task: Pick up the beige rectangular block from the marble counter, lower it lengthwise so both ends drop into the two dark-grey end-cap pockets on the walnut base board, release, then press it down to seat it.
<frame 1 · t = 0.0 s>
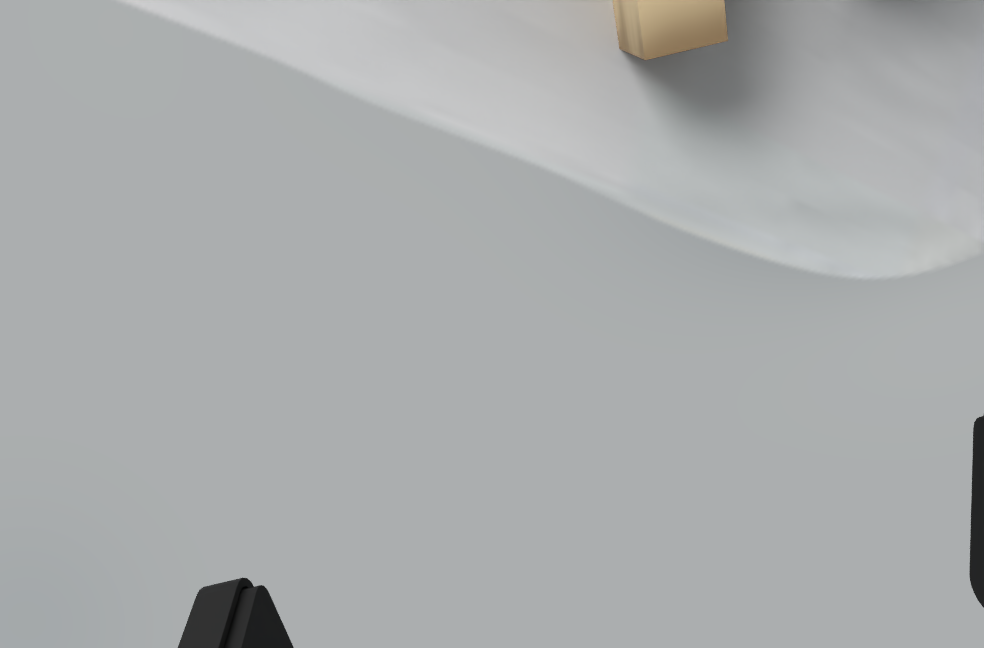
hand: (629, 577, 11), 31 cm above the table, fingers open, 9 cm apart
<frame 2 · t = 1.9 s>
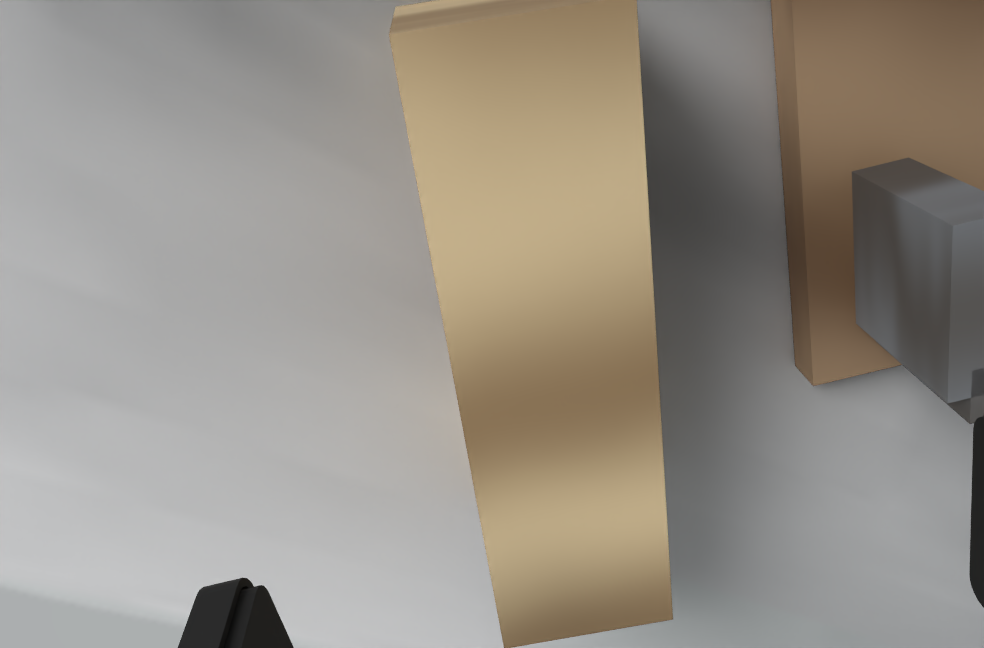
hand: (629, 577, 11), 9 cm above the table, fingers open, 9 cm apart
beige rectangular block: (522, 273, 18), on the table
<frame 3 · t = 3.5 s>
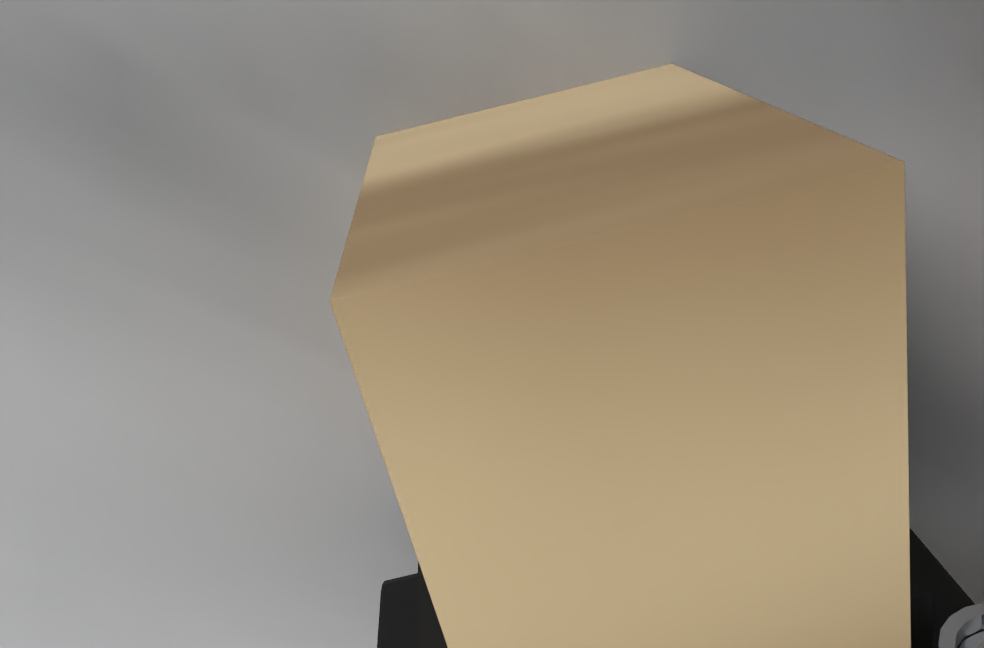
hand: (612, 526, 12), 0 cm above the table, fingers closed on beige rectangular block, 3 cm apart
beige rectangular block: (607, 509, 12), on the table, touching gripper
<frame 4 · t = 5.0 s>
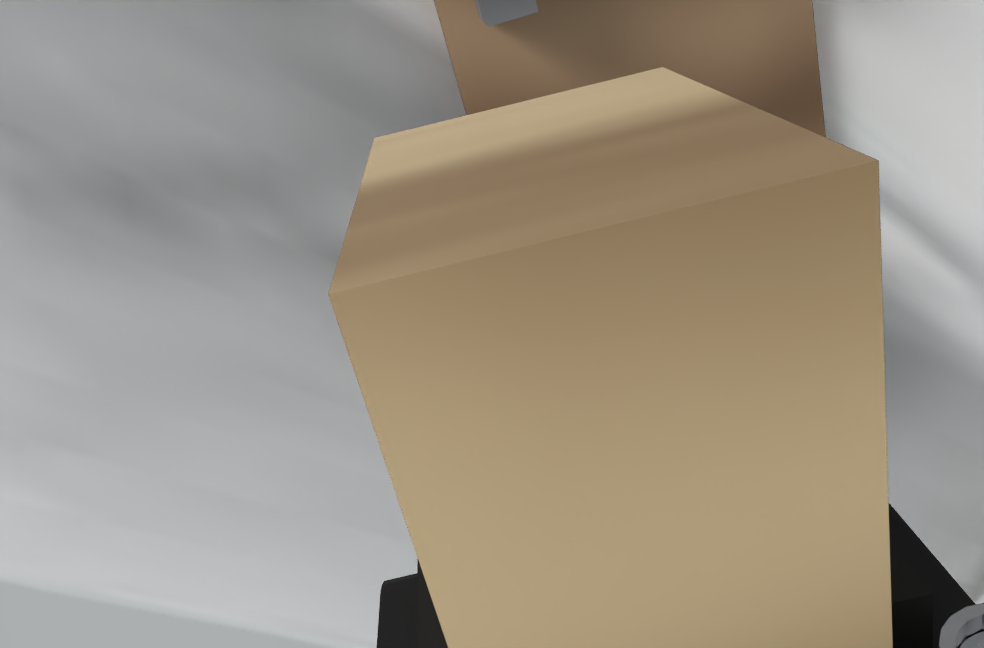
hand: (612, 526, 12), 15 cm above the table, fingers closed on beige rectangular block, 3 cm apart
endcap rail: (640, 115, 24), on the table
beige rectangular block: (602, 505, 12), point 15 cm above the table, touching gripper
when the fingers open (3 cm above the table, at t = 7.0 s): beige rectangular block drops 1 cm, resting on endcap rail.
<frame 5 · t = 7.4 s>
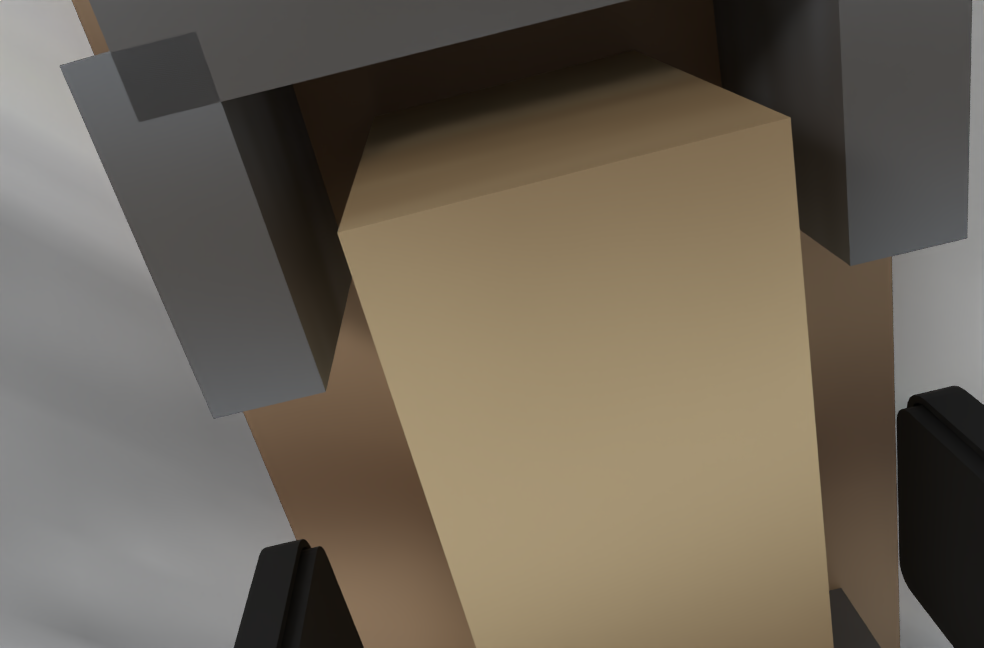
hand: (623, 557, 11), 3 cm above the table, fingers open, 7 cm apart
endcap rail: (579, 425, 14), on the table
beige rectangular block: (587, 456, 13), point 1 cm above the table, touching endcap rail
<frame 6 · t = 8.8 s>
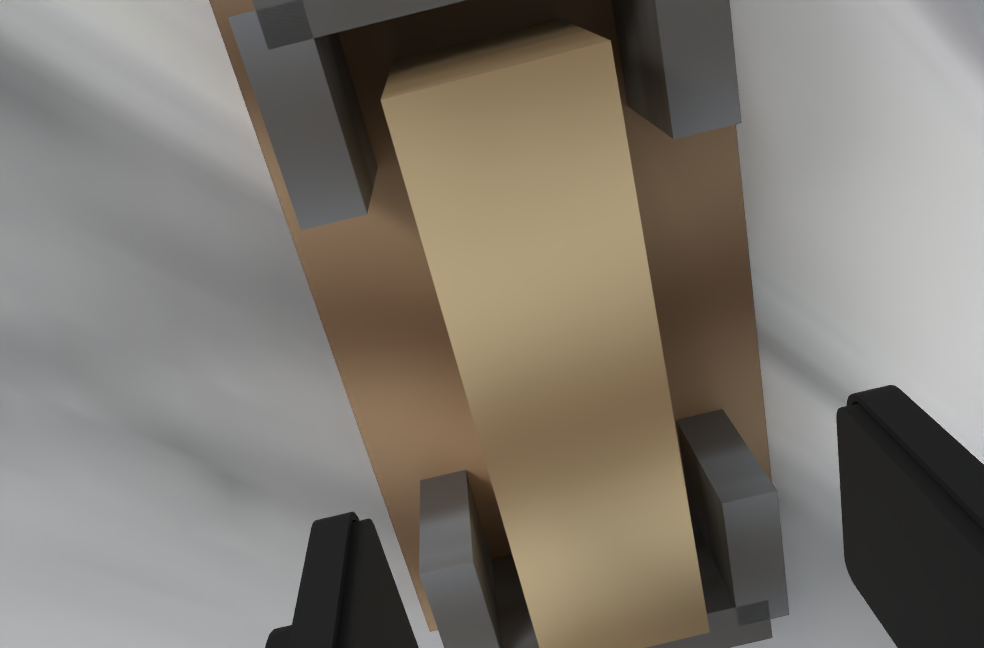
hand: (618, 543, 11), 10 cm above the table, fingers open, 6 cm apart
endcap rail: (534, 288, 20), on the table
beige rectangular block: (537, 303, 19), point 1 cm above the table, touching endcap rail
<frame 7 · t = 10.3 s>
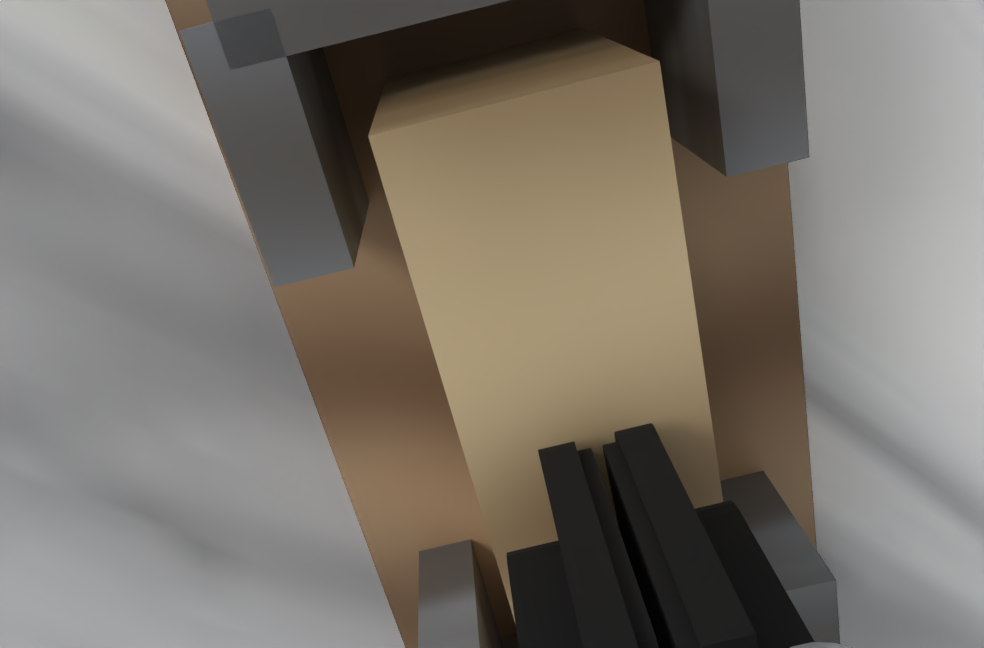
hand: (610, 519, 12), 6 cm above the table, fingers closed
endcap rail: (549, 335, 17), on the table
beige rectangular block: (554, 354, 17), point 1 cm above the table, touching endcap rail
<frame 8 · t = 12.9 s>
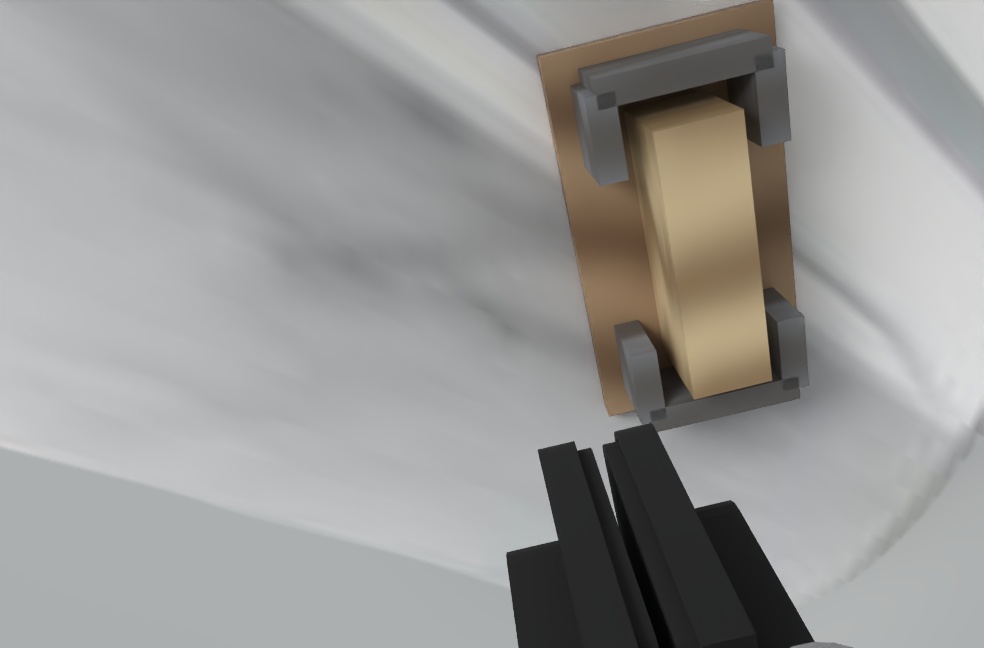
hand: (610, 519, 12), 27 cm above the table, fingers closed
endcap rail: (676, 223, 39), on the table
beige rectangular block: (681, 228, 38), point 1 cm above the table, touching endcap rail
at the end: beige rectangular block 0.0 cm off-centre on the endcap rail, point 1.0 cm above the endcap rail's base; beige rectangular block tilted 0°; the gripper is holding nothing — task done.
